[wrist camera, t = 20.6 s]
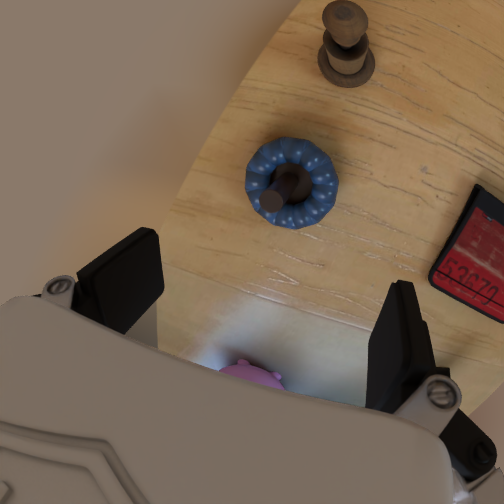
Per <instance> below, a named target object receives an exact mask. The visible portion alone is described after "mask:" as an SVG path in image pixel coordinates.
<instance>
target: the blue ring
mask: <svg viewBox="0 0 504 504" xmlns="http://www.w3.org/2000/svg"><path fill="white" fill-rule="evenodd" d="M286 162H289V163H295V164H299V165H301V166H302V167H303V168H304V169H306V170H307V171H308V172H309V174H310V177H311V179H312V182H313V185H312V192H311V194H310V196H309V197H308V198H307V199H306V200H305V201H304V202H301V203H298V204H295V205H293V204H287V203H285V204H284V205H283V207H282V208H281V209H280V210H279V211H278V212H276V213H268V212H266V211H264V210H263V209H262V208H261V206H260V204H259V197H260V195H261V193H262V192H263V191H264V190H266V189H267V188H268V187H269V186H270V176H271V173H272V172H273V171H274V169H275V168H276V167H277V166H279V165H281V164H284V163H286ZM338 184H339V180H338V177H337V174H336V171H335V169H334V166H333V164H332V161H331V159H330V157H329V156H328V155H327V154H326V153H325V152H323V151H322V150H321V149H320V148H318V147H317V146H316V145H315V144H313V143H312V142H311V141H309V140H305V139H298V138H292V137H281V138H278V139H276V140H273V141H271V142H269V143H266V144H264V145H262V146H261V147H260V148H259V149H258V150H257V152H256V153H255V154H254V156H253V157H252V159H251V160H250V161H249V163H248V165H247V167H246V179H245V190H246V193H247V195H248V197H249V200H250V202H251V204H252V206H253V208H254V210H255V211H256V212H257V213H258V214H260V215H261V216H262V217H263V218H265V219H266V220H267V221H268V222H270V223H271V224H272V225H275V226H280V227H285V228H289V229H300V228H304V227H307V226H310V225H314V224H316V223H318V222H320V221H321V220H322V219H323V218H324V216H325V215H326V214H327V213H328V212H329V211H330V210H331V209H332V208H333V206H334V204H335V201H336V195H337V190H338Z"/></svg>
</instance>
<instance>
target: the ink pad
mask: <svg viewBox="0 0 504 504" xmlns="http://www.w3.org/2000/svg"><path fill="white" fill-rule="evenodd" d="M428 280H429V283H430V284H431V286H433V287H434V288H436V289H438V290H439V291H441V292H443V293H445V294H446V295H448V296H450V297H452V298H454V299H455V300H457V301H459V302H461V303H463V304H465V305H467V306H469V307H470V308H472V309H474V310H476V311H478V312H480V313H482V314H483V315H485V316H487V317H489V318H491V319H493V320H495V321H497V322H499V323H501V324H504V203H502V202H501V201H500V200H498V199H497V198H496V197H494V196H493V195H492V194H490V193H489V192H487V191H486V190H485V189H484V188H483V187H482V186H480V185H478V184H475V186H474V188H473V190H472V193H471V195H470V197H469V199H468V202H467V204H466V206H465V208H464V210H463V212H462V214H461V216H460V218H459V220H458V222H457V224H456V226H455V228H454V230H453V232H452V234H451V235H450V237H449V239H448V241H447V243H446V245H445V246H444V248H443V250H442V252H441V253H440V255H439V257H438V259H437V261H436V262H435V264H434V266H433V267H432V269H431V271H430V273H429V275H428Z"/></svg>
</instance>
